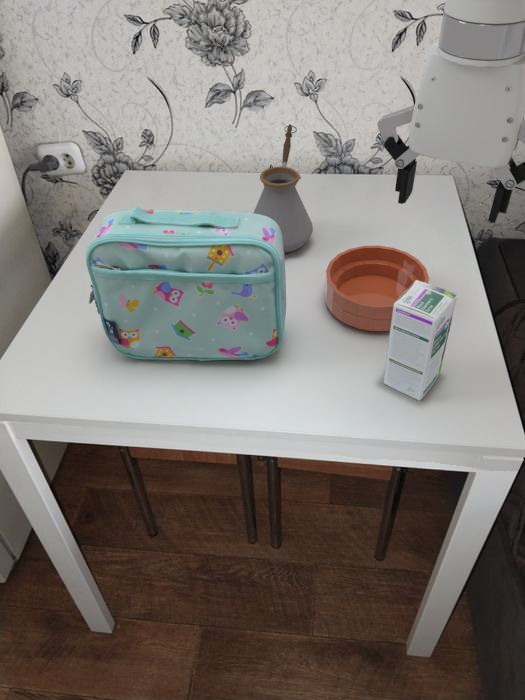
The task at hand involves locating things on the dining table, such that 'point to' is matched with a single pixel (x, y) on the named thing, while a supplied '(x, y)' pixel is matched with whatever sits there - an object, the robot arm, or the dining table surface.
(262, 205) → the coffee pot
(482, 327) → the dining table surface
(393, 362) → the syrup box
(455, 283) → the dining table surface
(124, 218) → the lunch box
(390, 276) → the bowl
